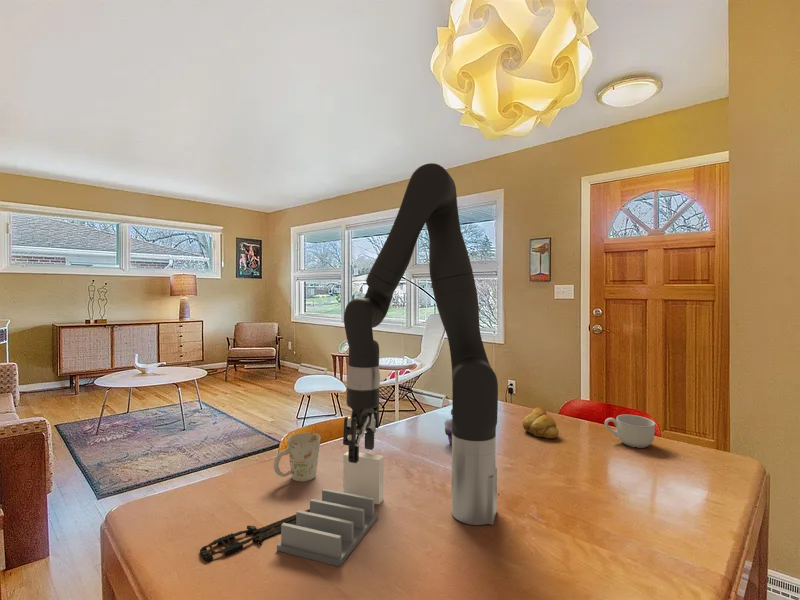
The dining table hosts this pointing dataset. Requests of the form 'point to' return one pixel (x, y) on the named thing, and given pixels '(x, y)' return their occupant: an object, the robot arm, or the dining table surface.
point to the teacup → (633, 430)
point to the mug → (300, 456)
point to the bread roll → (540, 424)
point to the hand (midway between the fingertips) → (361, 455)
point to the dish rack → (329, 527)
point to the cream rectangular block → (364, 476)
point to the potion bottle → (449, 429)
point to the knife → (238, 546)
